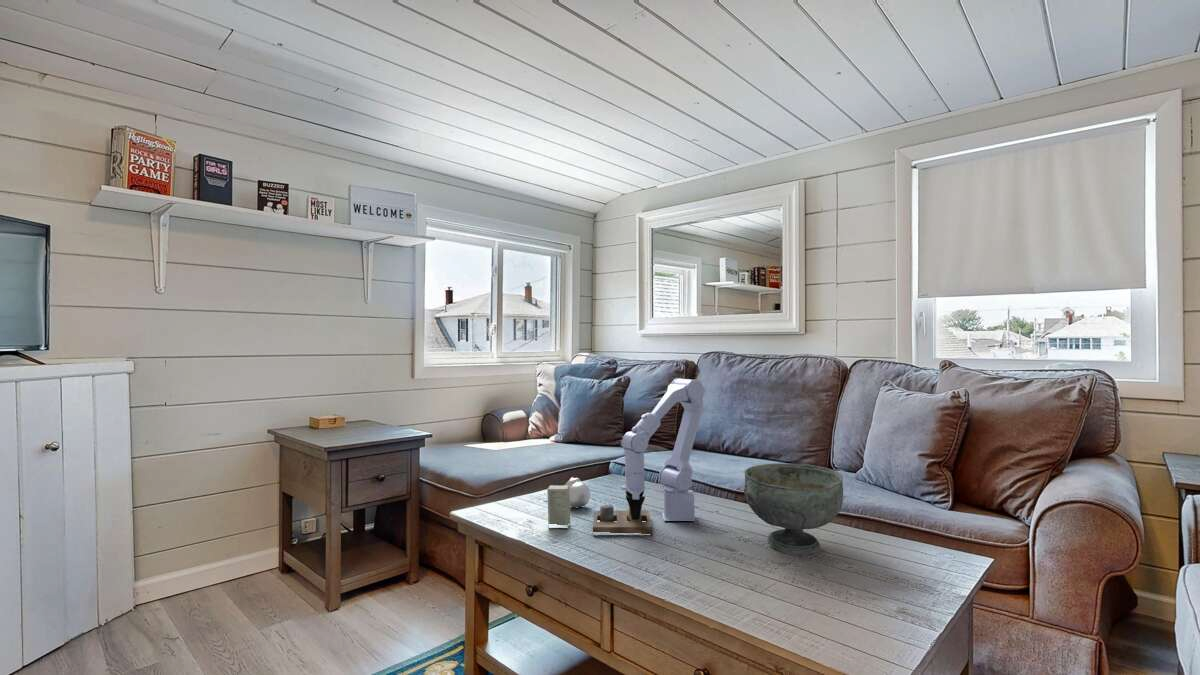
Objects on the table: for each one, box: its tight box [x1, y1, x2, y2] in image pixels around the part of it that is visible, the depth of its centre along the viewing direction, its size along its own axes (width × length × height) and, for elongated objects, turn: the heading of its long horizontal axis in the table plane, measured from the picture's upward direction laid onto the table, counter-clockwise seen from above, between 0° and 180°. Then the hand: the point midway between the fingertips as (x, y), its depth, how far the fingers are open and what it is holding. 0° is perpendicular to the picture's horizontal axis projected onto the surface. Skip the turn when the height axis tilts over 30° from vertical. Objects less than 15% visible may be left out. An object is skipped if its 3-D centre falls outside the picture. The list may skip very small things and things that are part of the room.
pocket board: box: [592, 504, 653, 535], centre depth 172 cm, size 17×16×6 cm
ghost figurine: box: [564, 477, 591, 508], centre depth 192 cm, size 9×10×10 cm
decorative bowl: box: [743, 462, 844, 556], centre depth 154 cm, size 26×26×20 cm
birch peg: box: [627, 503, 643, 522], centre depth 172 cm, size 4×4×6 cm
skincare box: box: [546, 484, 571, 525], centre depth 173 cm, size 6×4×12 cm
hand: (635, 517), depth 172 cm, fingers closed on birch peg, 4 cm apart
